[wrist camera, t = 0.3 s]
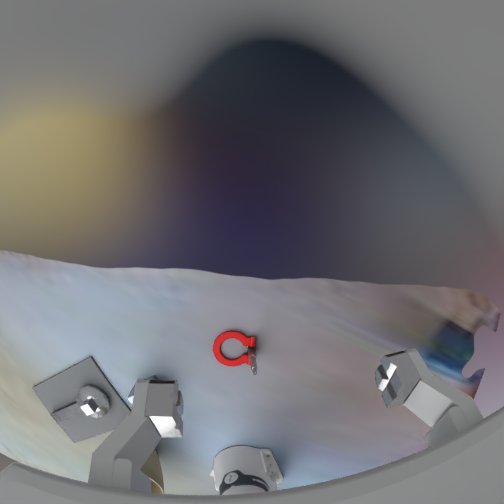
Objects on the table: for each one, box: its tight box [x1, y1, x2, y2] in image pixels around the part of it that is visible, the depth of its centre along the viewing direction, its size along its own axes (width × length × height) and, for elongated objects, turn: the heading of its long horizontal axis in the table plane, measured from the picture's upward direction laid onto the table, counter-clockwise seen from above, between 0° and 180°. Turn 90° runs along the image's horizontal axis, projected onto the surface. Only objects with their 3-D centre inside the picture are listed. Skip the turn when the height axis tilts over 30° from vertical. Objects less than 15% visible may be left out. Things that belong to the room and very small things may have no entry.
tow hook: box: [213, 331, 257, 375], centre depth 58 cm, size 8×13×9 cm
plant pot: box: [140, 449, 164, 494], centre depth 55 cm, size 15×15×16 cm
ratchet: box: [50, 384, 111, 423], centre depth 57 cm, size 22×9×6 cm, turn 119°
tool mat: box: [32, 357, 131, 443], centre depth 61 cm, size 20×26×1 cm
